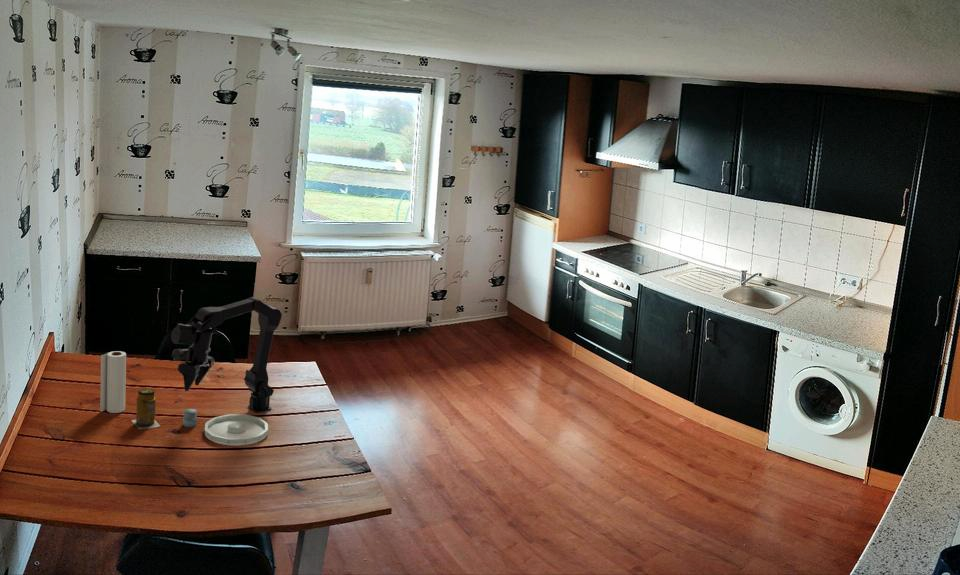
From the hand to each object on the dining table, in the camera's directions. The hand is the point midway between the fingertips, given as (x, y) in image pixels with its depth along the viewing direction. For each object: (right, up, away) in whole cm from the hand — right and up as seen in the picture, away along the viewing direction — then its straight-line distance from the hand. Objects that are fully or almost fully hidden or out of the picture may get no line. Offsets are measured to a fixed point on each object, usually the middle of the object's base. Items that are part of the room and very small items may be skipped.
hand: (191, 387), depth 289 cm
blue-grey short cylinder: (-2, -13, +3) cm, 14 cm away
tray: (+15, -16, +1) cm, 22 cm away
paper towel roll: (-30, -9, +7) cm, 32 cm away
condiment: (-16, -13, 0) cm, 20 cm away
